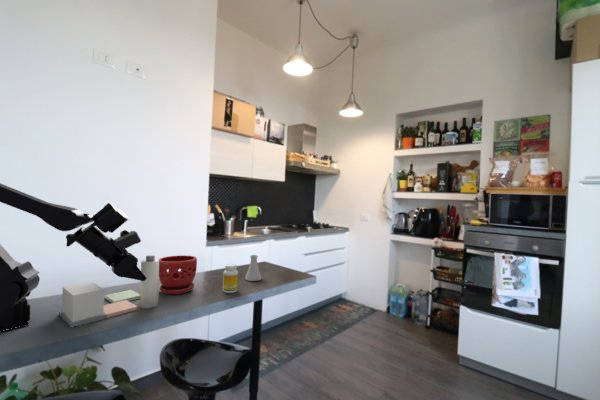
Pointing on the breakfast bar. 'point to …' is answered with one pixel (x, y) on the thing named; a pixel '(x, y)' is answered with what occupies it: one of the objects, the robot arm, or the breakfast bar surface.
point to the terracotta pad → (119, 308)
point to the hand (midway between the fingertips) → (141, 276)
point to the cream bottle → (149, 282)
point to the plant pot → (177, 274)
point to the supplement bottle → (230, 278)
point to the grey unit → (82, 304)
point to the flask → (253, 270)
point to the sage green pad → (122, 296)
